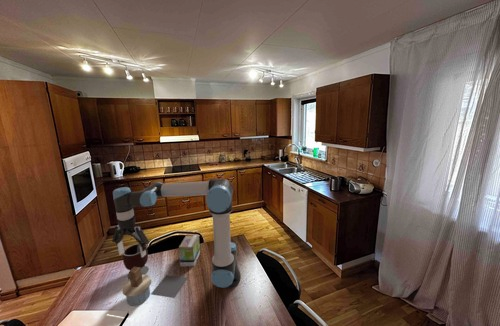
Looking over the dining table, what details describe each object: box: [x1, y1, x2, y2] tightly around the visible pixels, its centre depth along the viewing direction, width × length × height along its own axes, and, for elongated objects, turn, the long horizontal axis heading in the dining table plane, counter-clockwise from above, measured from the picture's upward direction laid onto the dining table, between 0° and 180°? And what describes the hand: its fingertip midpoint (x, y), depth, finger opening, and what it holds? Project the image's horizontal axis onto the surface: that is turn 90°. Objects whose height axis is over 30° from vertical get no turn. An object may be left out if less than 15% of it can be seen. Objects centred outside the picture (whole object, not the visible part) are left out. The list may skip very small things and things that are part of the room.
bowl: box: [125, 286, 151, 307], centre depth 112 cm, size 11×11×8 cm
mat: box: [150, 274, 189, 299], centre depth 120 cm, size 15×15×1 cm
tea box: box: [178, 234, 201, 267], centre depth 142 cm, size 15×10×15 cm, turn 179°
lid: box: [121, 267, 152, 297], centre depth 110 cm, size 14×14×10 cm
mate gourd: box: [122, 243, 150, 280], centre depth 131 cm, size 16×14×20 cm
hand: (132, 254), depth 108 cm, fingers open, 13 cm apart
